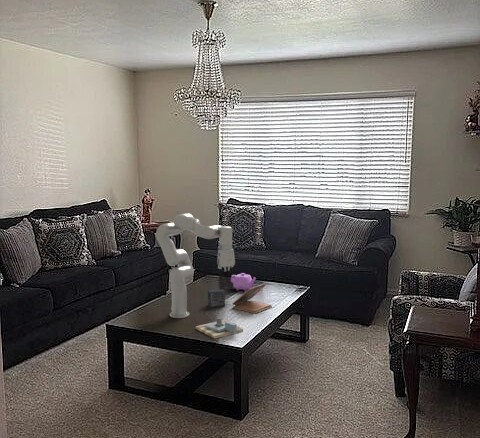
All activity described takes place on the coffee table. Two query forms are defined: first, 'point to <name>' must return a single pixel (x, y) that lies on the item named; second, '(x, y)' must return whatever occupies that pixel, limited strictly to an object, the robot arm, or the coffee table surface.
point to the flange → (225, 326)
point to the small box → (216, 298)
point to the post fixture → (214, 333)
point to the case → (251, 305)
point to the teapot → (242, 281)
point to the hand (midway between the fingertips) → (225, 277)
